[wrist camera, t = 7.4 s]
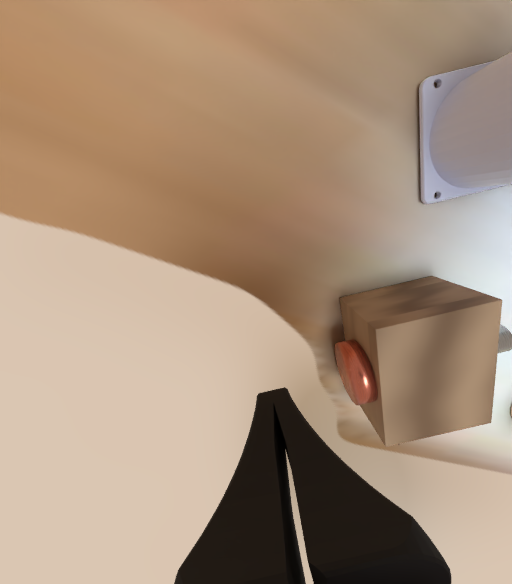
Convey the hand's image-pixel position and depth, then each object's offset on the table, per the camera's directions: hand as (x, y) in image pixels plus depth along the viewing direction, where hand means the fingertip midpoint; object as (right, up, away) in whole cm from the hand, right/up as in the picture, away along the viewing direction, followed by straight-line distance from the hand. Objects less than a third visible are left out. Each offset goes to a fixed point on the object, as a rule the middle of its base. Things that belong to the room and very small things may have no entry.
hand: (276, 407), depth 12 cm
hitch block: (+11, +1, +11) cm, 16 cm away
